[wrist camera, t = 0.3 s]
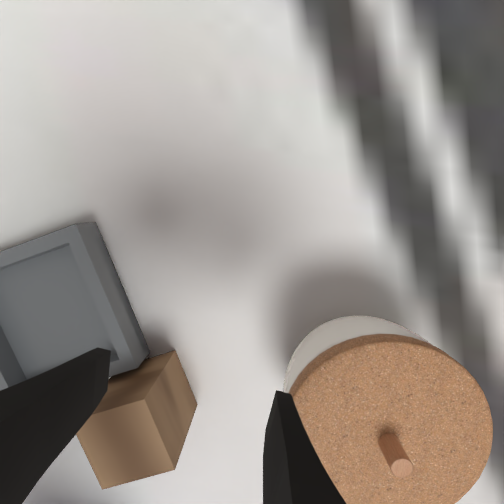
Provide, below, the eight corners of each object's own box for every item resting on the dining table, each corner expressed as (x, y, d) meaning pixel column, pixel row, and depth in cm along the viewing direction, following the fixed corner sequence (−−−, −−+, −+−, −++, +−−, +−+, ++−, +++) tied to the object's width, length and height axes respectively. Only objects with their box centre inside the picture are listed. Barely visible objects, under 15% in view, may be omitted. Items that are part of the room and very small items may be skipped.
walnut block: (142, 420, 24) (102, 489, 18) (119, 367, 23) (70, 421, 17) (197, 404, 24) (174, 469, 18) (175, 350, 23) (144, 399, 17)
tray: (30, 390, 24) (5, 409, 22) (-29, 268, 23) (-62, 274, 20) (150, 352, 23) (137, 367, 21) (95, 222, 22) (75, 223, 19)
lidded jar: (269, 414, 23) (273, 549, 14) (284, 288, 22) (299, 346, 12) (402, 430, 23) (495, 579, 14) (427, 302, 21) (551, 373, 12)
